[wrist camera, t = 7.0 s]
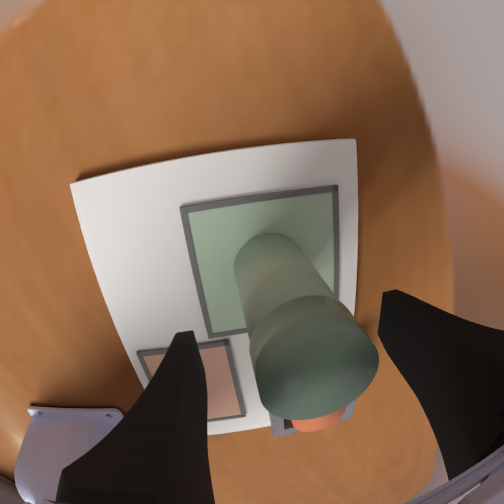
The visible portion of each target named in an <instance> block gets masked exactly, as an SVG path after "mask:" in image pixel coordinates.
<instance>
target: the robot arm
mask: <svg viewBox="0 0 504 504" xmlns="http://www.w3.org/2000/svg"><path fill="white" fill-rule="evenodd" d="M378 336H379V338H380V340H381V342H382V344H383V346H384V348H385V350H386V352H387V354H388V355H389V357H390V358H391V360H392V361H393V362H394V364H395V365H396V367H397V368H398V370H399V371H400V373H401V374H402V375H403V377H404V378H405V380H406V381H407V383H408V384H409V386H410V387H411V389H412V390H413V391H414V393H415V395H416V396H417V398H418V400H419V402H420V404H421V406H422V408H423V410H424V412H425V414H426V416H427V418H428V420H429V422H430V425H431V427H432V429H433V432H434V434H435V437H436V439H437V442H438V445H439V448H440V450H441V453H442V457H443V460H444V464H445V467H446V471H447V475H448V479H449V481H448V482H447V483H445V484H443V485H441V486H439V487H437V488H436V489H434V490H432V491H430V492H428V493H426V494H424V495H422V496H420V497H418V498H416V499H414V500H412V501H410V502H408V503H405V504H448V503H449V502H451V501H453V500H455V499H456V498H458V497H459V496H461V495H463V494H464V493H466V492H467V491H469V490H471V489H472V488H474V487H475V486H477V485H478V484H480V483H481V484H480V486H478V487H477V488H475V489H474V490H473V491H471V492H470V493H469V494H467V495H466V496H465V497H464V498H463V499H462V500H461V501H460V502H459V503H458V504H504V331H503V330H499V329H494V328H490V327H486V326H483V325H480V324H477V323H474V322H470V321H467V320H465V319H462V318H460V317H457V316H455V315H452V314H450V313H448V312H445V311H443V310H441V309H439V308H437V307H434V306H432V305H430V304H428V303H426V302H424V301H422V300H420V299H417V298H415V297H413V296H411V295H409V294H406V293H404V292H402V291H399V290H396V289H395V290H391V291H387V292H383V295H382V304H381V312H380V320H379V327H378ZM27 410H28V412H29V413H30V415H31V416H32V418H31V420H30V423H29V426H28V428H27V431H26V434H25V437H24V439H23V442H22V445H21V448H20V451H19V454H18V457H17V460H16V464H15V471H14V475H15V483H16V487H17V490H18V492H19V494H20V496H21V497H22V499H23V500H24V501H25V502H26V503H25V504H215V501H214V495H213V489H212V482H211V475H210V468H209V460H208V447H207V415H208V393H207V383H206V374H205V369H204V365H203V362H202V359H201V355H200V352H199V348H198V345H197V342H196V338H195V335H194V331H193V330H191V331H184V332H177V333H176V334H175V335H174V337H173V340H172V342H171V344H170V346H169V348H168V350H167V352H166V354H165V356H164V358H163V359H162V361H161V363H160V365H159V367H158V368H157V370H156V372H155V374H154V375H153V377H152V379H151V380H150V382H149V383H148V385H147V386H146V388H145V390H144V391H143V393H142V394H141V396H140V397H139V398H138V400H137V401H136V402H135V404H134V405H133V406H132V408H131V409H130V410H129V411H128V413H127V414H126V415H125V416H123V414H122V413H121V411H120V410H118V409H115V408H102V409H85V408H53V407H37V406H29V407H28V409H27Z"/></svg>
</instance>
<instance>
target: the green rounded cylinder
mask: <svg viewBox="0 0 504 504" xmlns="http://www.w3.org/2000/svg"><path fill="white" fill-rule="evenodd" d="M234 274H235V279H236V283H237V288H238V292H239V297H240V301H241V306H242V310H243V314H244V319H245V323H246V327H247V332H248V336H249V340H250V344H249V353H250V358H251V362H252V366H253V371H254V375H255V379H256V384H257V388H258V392H259V397H260V400H261V403H262V405H263V406H264V408H265V409H266V410H267V411H269V412H270V413H271V414H273V415H275V416H277V417H280V418H283V419H288V420H309V419H315V418H319V417H323V416H326V415H329V414H331V413H334V412H336V411H338V410H340V409H342V408H343V407H345V406H347V405H348V404H350V403H351V402H353V401H354V400H355V399H356V398H358V397H359V396H360V395H361V394H362V393H363V392H364V391H365V390H366V389H367V387H368V386H369V385H370V383H371V382H372V380H373V378H374V377H375V374H376V372H377V369H378V364H379V356H378V352H377V349H376V347H375V346H374V344H373V343H372V341H371V340H370V339H369V337H368V336H367V334H366V333H365V332H364V330H363V329H362V327H361V326H360V325H359V323H358V322H357V320H356V319H355V318H354V316H353V315H352V313H351V312H350V311H349V309H348V308H347V307H346V306H345V305H344V304H343V303H341V302H340V301H339V300H338V299H337V297H336V296H335V295H334V293H333V292H332V290H331V289H330V288H329V286H328V285H327V284H326V282H325V281H324V279H323V278H322V277H321V275H320V274H319V273H318V271H317V270H316V268H315V267H314V266H313V264H312V263H311V262H310V260H309V259H308V258H307V256H306V255H305V254H304V252H303V251H302V250H301V248H300V247H299V246H298V244H297V243H296V242H295V241H294V240H293V239H291V238H290V237H288V236H286V235H283V234H279V233H265V234H261V235H258V236H256V237H254V238H252V239H250V240H249V241H248V242H246V243H245V244H244V245H243V246H242V247H241V249H240V250H239V252H238V254H237V256H236V258H235V262H234Z"/></svg>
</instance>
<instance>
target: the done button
mask: <svg viewBox="0 0 504 504" xmlns="http://www.w3.org/2000/svg"><path fill="white" fill-rule="evenodd" d="M345 409H346V407H343V408H342V409H340V410H338V411H336V412H334V413H331V414H329V415H326V416H323V417H319V418H315V419H309V420H291V421H292V424H293V426H294V428H296V429H297V430H299V431H304V432H312V431H317V430H321V429H324V428H326V427H329V426H330V425H332V424H334V423H335V422H337V421H338V420H339V419H340V418H341V417H342V416H343V414H344V412H345Z"/></svg>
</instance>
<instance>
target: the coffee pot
mask: <svg viewBox="0 0 504 504" xmlns="http://www.w3.org/2000/svg"><path fill="white" fill-rule="evenodd" d="M25 503H26V502H25V501H24V500H23V499H22V497H21V496H20V494H19V492H18V490H17V487H16V484H15V483H13V482H12V481H10V480H8V479H6V478H4V477H2V476H0V504H25Z"/></svg>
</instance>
